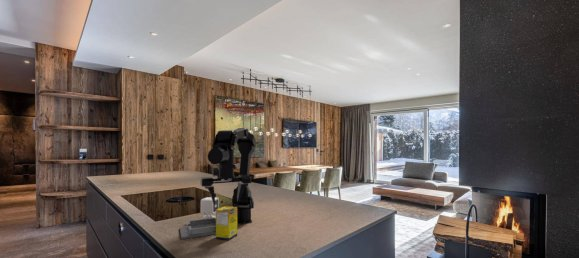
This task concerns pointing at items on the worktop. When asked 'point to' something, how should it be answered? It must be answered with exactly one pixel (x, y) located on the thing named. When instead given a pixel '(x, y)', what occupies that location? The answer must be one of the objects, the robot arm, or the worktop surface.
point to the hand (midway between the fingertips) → (226, 202)
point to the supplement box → (226, 223)
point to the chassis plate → (198, 228)
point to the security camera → (209, 207)
